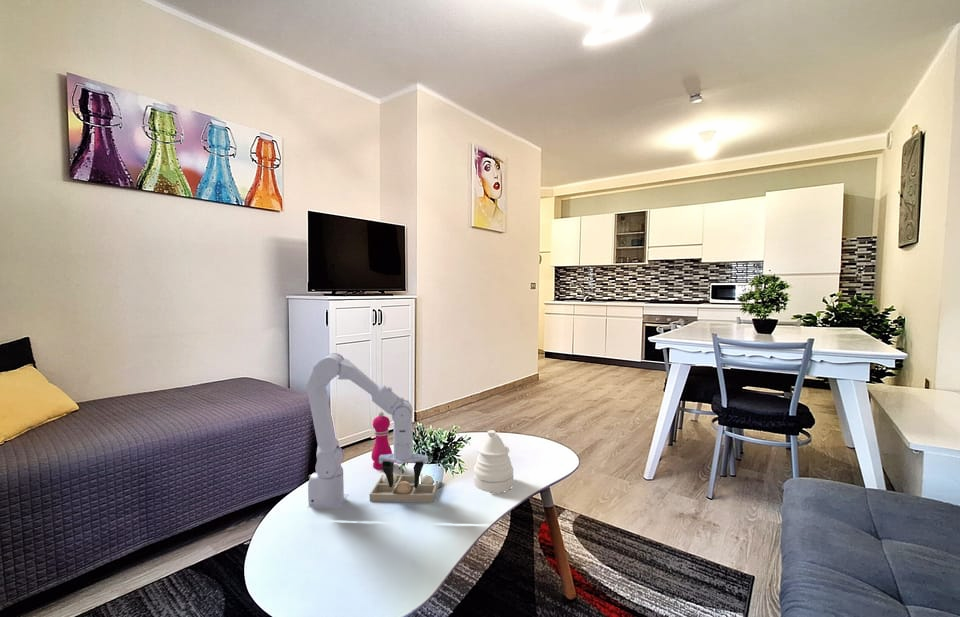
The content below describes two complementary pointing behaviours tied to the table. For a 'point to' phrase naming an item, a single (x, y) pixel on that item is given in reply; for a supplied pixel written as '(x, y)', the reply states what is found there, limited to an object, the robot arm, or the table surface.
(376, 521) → the table surface
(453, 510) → the table surface
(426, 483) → the cream egg right
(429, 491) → the carton
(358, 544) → the table surface
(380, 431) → the pepper mill
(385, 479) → the cream egg left
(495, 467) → the honey pot
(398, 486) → the tan orange ball
